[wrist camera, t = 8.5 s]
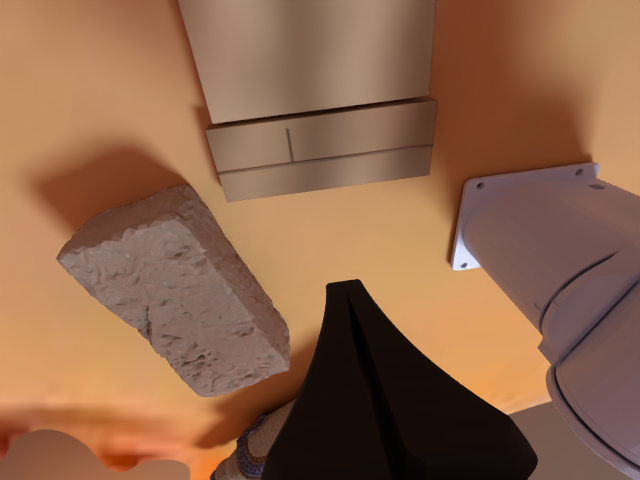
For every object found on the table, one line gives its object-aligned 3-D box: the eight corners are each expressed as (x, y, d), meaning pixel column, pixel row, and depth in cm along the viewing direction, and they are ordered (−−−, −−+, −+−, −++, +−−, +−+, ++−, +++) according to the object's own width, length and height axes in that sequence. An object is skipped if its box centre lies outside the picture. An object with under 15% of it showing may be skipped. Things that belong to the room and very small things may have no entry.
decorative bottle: (352, 343, 30) (367, 412, 24) (392, 372, 33) (414, 438, 28) (190, 443, 37) (174, 512, 32) (237, 458, 41) (230, 523, 35)
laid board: (428, 97, 18) (437, 100, 17) (422, 168, 20) (429, 175, 19) (209, 125, 17) (204, 130, 16) (229, 194, 20) (226, 202, 19)
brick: (81, 220, 20) (33, 263, 16) (191, 174, 19) (167, 208, 15) (215, 355, 29) (204, 403, 25) (293, 329, 28) (295, 375, 24)
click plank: (431, -73, 14) (443, -84, 13) (420, 93, 18) (429, 95, 16) (172, -43, 14) (163, -52, 13) (216, 119, 17) (212, 123, 16)
